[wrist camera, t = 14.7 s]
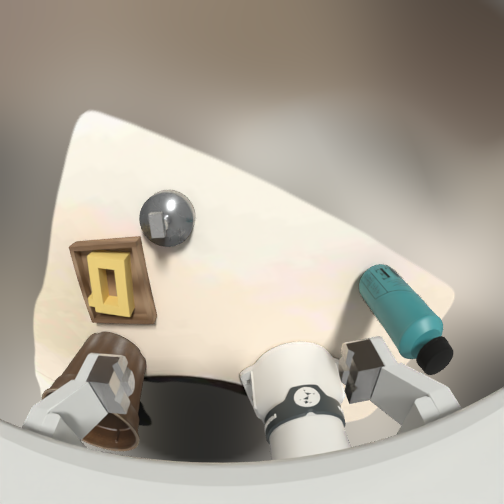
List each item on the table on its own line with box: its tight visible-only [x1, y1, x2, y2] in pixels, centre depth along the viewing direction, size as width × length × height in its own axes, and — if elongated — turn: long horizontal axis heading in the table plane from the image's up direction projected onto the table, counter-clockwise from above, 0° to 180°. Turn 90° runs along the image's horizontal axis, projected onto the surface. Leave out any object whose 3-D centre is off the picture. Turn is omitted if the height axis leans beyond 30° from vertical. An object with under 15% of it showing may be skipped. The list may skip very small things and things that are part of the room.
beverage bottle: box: [359, 264, 453, 375], centre depth 33 cm, size 6×7×20 cm
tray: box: [69, 236, 157, 324], centre depth 39 cm, size 13×11×2 cm
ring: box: [87, 250, 135, 317], centre depth 38 cm, size 7×9×3 cm
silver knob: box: [140, 190, 195, 247], centre depth 34 cm, size 7×7×6 cm
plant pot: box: [42, 332, 146, 451], centre depth 39 cm, size 16×16×16 cm
